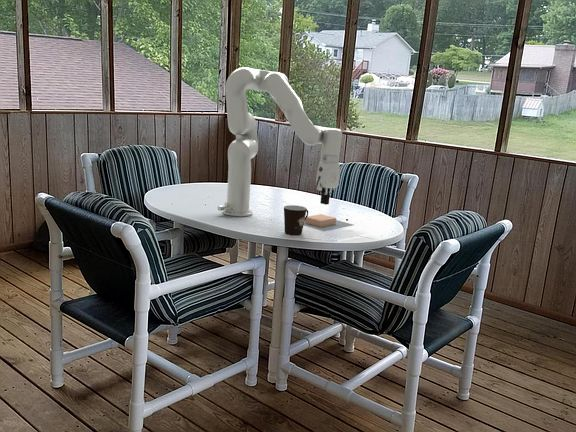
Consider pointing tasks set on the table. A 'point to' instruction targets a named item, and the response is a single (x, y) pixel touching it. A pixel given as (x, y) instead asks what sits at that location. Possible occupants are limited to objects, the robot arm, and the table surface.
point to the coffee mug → (294, 219)
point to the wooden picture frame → (320, 220)
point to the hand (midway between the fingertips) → (324, 203)
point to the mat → (329, 226)
